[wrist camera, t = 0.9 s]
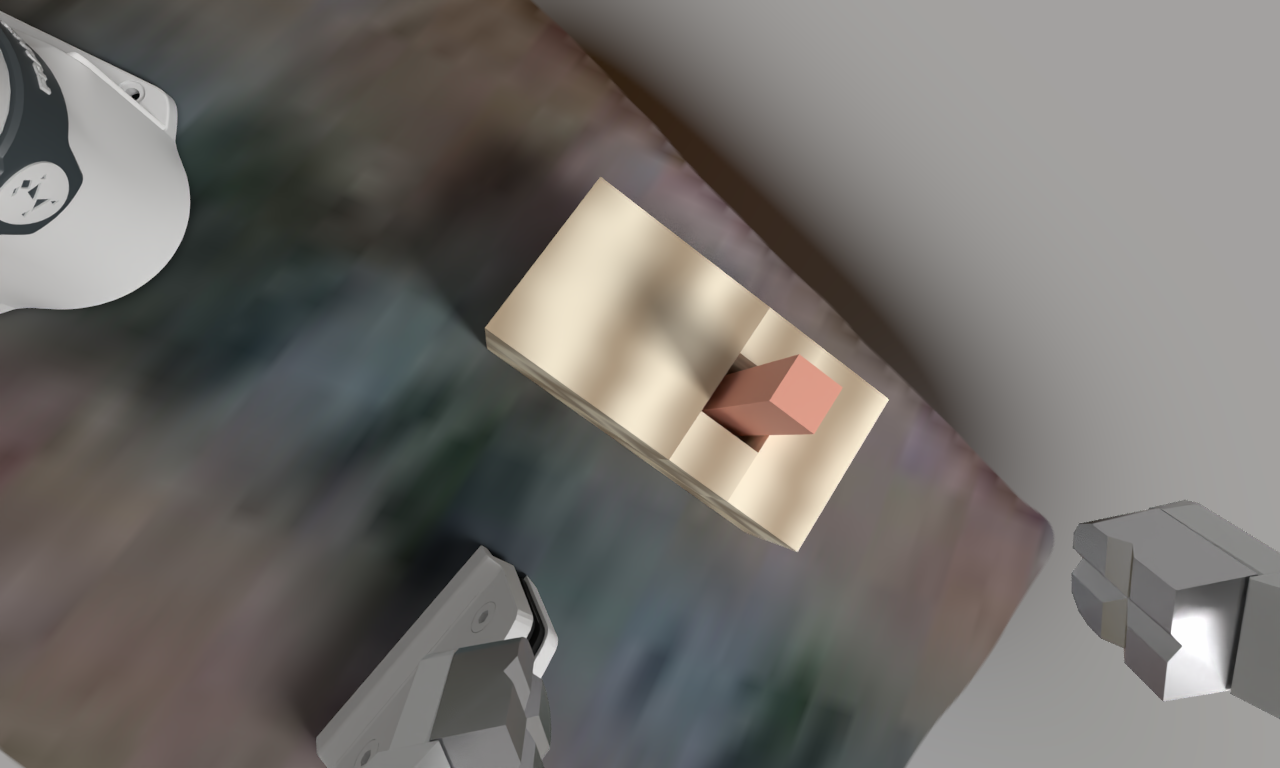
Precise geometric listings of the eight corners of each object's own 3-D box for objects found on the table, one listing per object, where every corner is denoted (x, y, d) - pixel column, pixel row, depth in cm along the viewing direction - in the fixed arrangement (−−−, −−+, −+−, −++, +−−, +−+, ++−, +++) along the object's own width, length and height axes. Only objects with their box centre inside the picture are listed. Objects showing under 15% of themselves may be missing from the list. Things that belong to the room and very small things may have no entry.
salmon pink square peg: (690, 412, 47) (769, 400, 34) (713, 378, 48) (799, 354, 34) (723, 436, 48) (814, 434, 34) (745, 402, 48) (843, 387, 35)
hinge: (485, 540, 46) (527, 602, 38) (531, 575, 48) (582, 641, 40) (311, 742, 43) (313, 862, 34) (369, 771, 45) (385, 891, 36)
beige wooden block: (487, 348, 48) (484, 328, 39) (585, 219, 50) (604, 171, 41) (745, 532, 51) (797, 551, 42) (826, 402, 53) (891, 394, 44)
